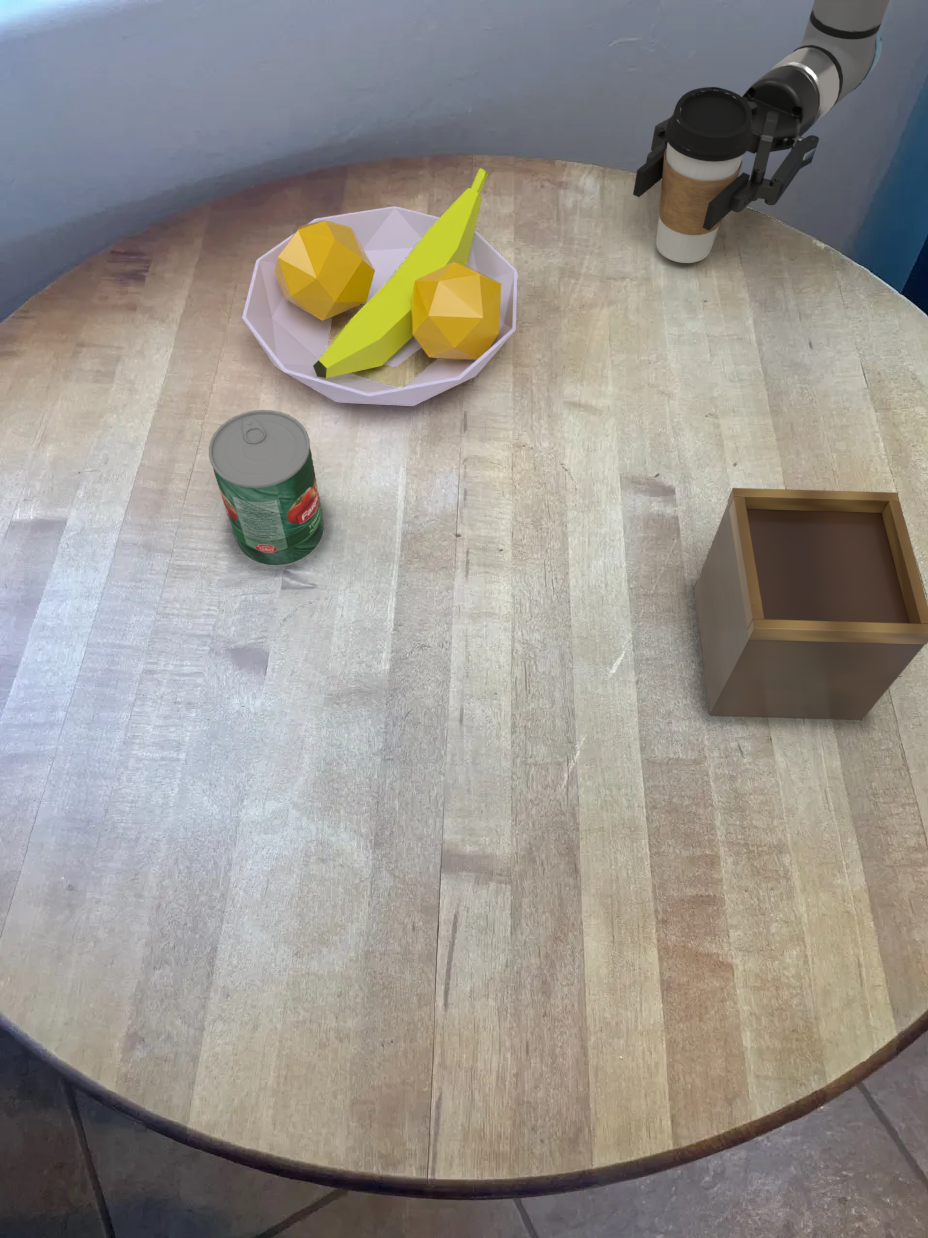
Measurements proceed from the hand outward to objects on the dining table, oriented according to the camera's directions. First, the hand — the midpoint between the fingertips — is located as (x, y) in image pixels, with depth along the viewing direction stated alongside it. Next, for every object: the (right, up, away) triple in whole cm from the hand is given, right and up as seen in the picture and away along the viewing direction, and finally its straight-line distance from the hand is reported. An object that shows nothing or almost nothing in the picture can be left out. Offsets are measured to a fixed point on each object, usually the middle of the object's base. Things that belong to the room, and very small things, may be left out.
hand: (673, 199), depth 95 cm
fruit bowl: (-28, -13, +3) cm, 31 cm away
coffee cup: (+3, -1, +9) cm, 10 cm away
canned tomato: (-37, -34, -10) cm, 51 cm away
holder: (+5, -44, -16) cm, 47 cm away
